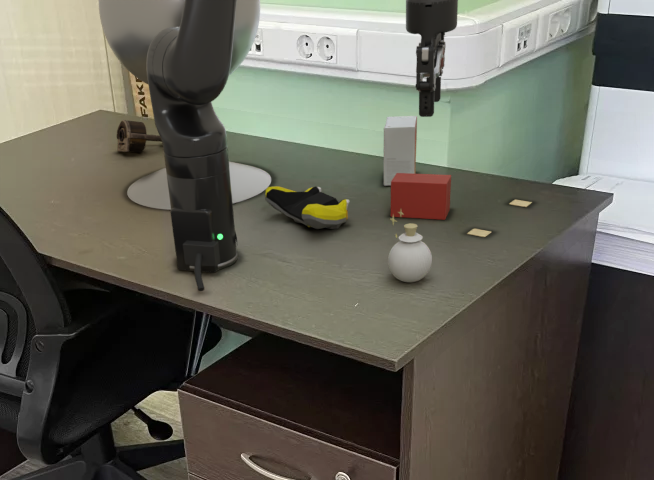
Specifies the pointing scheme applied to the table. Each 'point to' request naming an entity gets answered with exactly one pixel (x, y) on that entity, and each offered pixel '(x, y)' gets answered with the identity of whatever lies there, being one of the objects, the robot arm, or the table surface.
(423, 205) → the block
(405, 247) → the white potion bottle
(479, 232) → the edge tape marks
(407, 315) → the table surface
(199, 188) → the robot arm
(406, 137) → the small box
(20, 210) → the table surface
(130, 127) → the mechanical counter
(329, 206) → the black yellow shoe-shaped piece
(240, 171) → the desk lamp
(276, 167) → the table surface
